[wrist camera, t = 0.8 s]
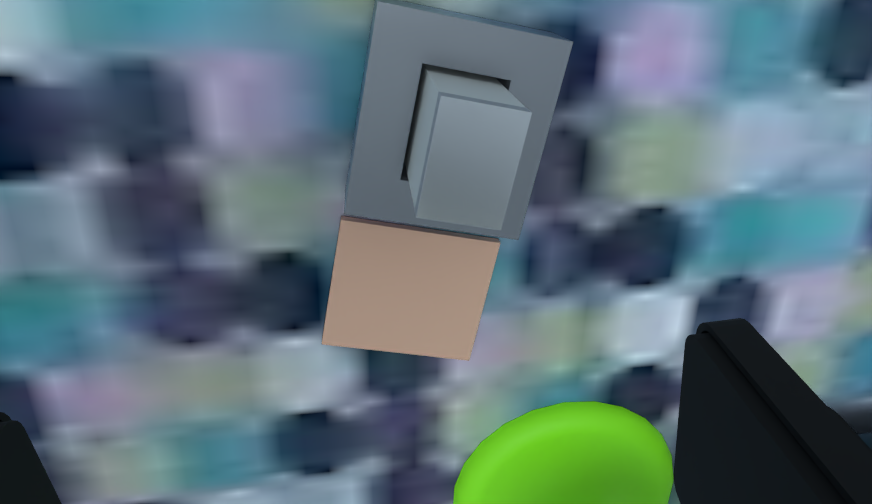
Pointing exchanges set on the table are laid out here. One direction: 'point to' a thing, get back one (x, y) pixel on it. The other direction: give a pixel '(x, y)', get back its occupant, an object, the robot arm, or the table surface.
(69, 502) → the table surface
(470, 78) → the plug
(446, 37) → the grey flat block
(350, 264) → the mat
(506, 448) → the wineglass
